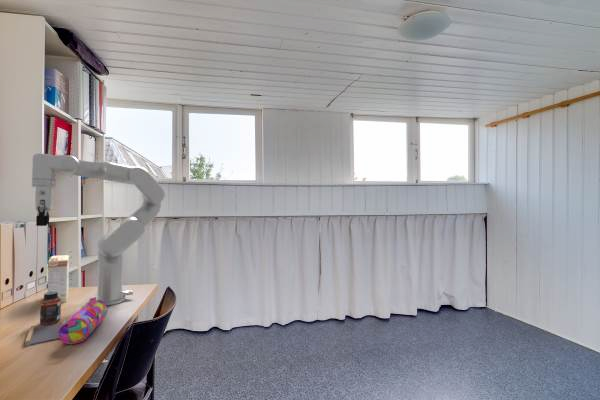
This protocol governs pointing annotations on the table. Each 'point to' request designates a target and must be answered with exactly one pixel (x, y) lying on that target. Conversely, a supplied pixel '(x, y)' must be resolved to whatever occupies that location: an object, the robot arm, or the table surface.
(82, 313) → the pencil case
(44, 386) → the table surface
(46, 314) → the supplement bottle
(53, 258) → the coffeecake box
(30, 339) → the cradle mat
